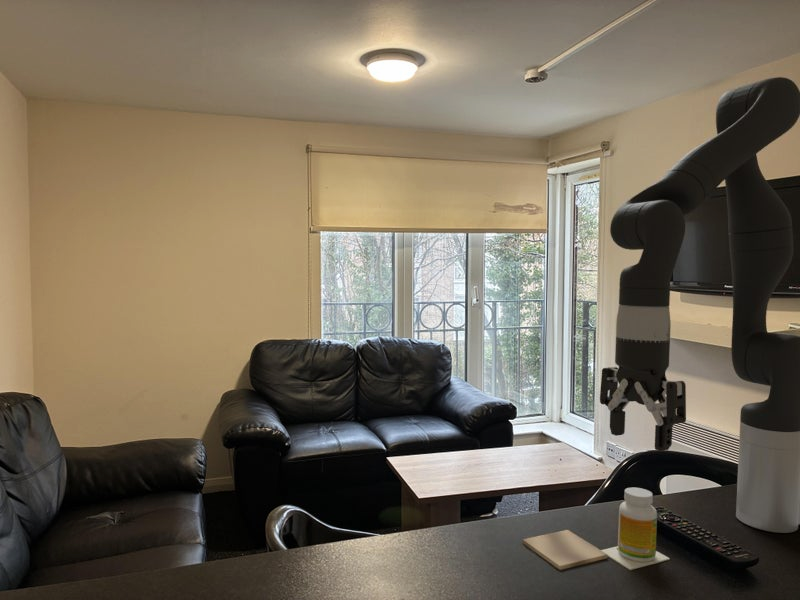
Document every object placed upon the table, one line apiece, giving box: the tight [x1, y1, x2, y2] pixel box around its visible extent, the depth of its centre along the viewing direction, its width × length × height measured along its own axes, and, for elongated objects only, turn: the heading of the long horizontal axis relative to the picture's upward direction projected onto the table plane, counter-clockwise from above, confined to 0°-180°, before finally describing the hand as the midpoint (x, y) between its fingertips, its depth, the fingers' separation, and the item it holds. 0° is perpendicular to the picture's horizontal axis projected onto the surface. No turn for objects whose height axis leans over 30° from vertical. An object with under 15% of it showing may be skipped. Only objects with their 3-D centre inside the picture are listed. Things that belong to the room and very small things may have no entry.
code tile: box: [600, 545, 670, 571], centre depth 89 cm, size 8×6×1 cm
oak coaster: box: [522, 529, 608, 571], centre depth 90 cm, size 9×9×1 cm
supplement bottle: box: [617, 487, 658, 562], centre depth 88 cm, size 5×5×10 cm
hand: (638, 441), depth 88 cm, fingers open, 8 cm apart
